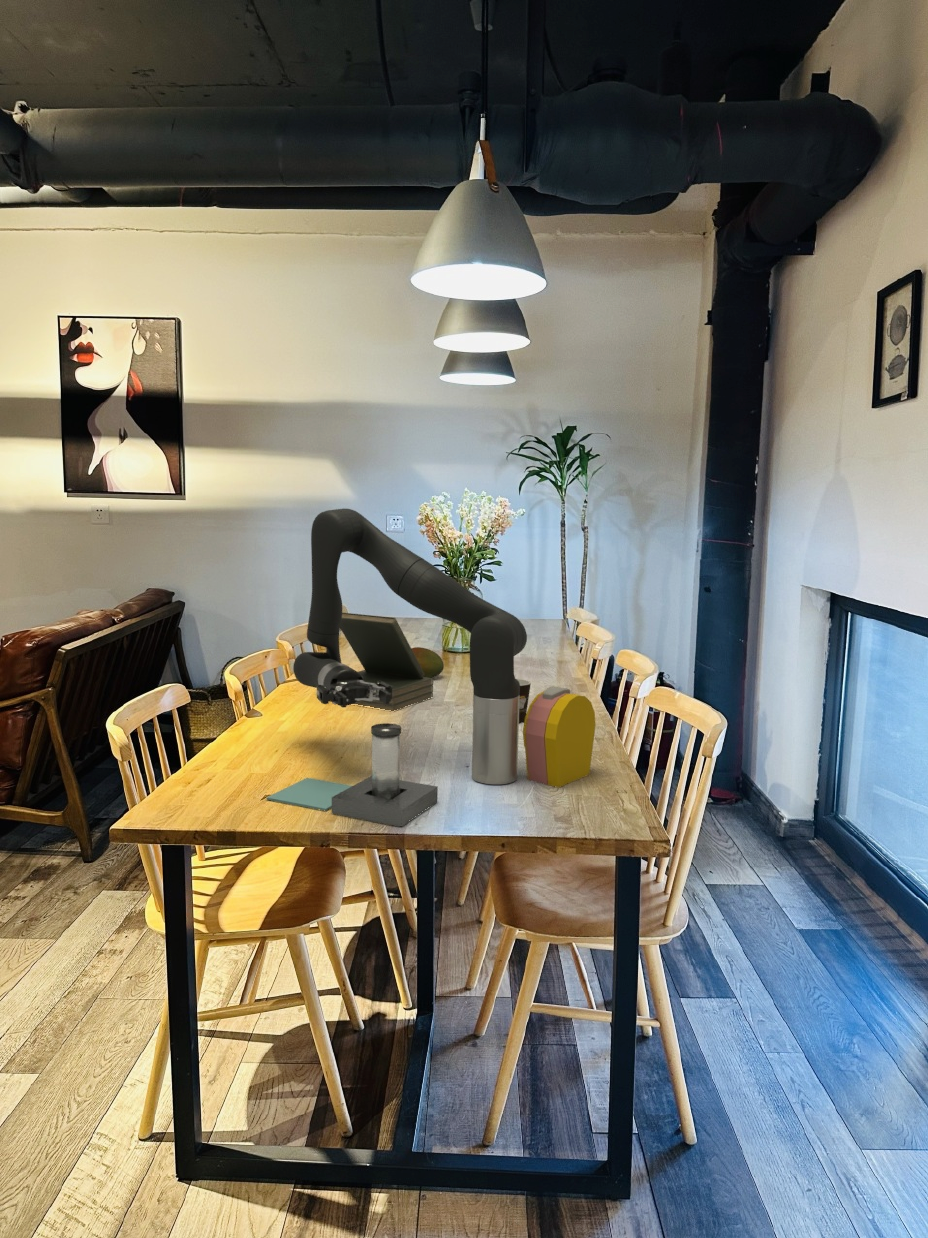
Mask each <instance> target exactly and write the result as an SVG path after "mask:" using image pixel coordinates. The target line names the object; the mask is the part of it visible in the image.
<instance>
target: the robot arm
mask: <svg viewBox="0 0 928 1238" xmlns="http://www.w3.org/2000/svg"><path fill="white" fill-rule="evenodd" d="M310 531H311V533H310V534H311V535H310V547H311V548H310V549H311V553H310V554H311V600H310V601H311V602H310V606H309V607H310V608H309V615H308V622H307V623H308V624H307V630H306V638H307V641H308V642H309V643H311V644H313V645H315V646H319V647H324V648H326V650H325V651H323V652H320V651H319V652H318V651H317V652H316V651H306V652H301V653H300V654H298V655H297V656H296V657H295V659H294V663H293V664H292V665H293V674H294V677H295V679H296V680H297V681H298V682H299V683H300V684H302V686H303V685H304V686H307V687H311V688H314V689H315V688H316V700H318V701H319V702H321V704H322V705H328V704H329V702H332V703H331V704H333V705H337V706H340V708H347V706H352V705H351V704H354V703H355V702H357V701H360V700H365V701H374V700H379V701H381V702H382V703H384V704H389V702H391V699H393V696H392V689H393V686H391V685H389V684H387V683H385V682H383V681H377V685H376V684H375V683H368V682H365V681H364V679H363V677H362V676H361V675H360V674H359V673H358V672H359V671H356V670H355V669H353V668H351V666H348V665H346V664H344V663H342V659H341V652H340V631H341V629H340V626H341V619H342V613H343V601H342V595H341V591H340V589H339V588H340V587H339V583H338V567H339V562H340V558H341V556H342V553H345V552H346V553H347V552H348V553H353V554H354V555H356V556H358V557H360V558H362V559H363V560H365V562H367V563H369V564H371V565H372V566H373V567H374V568H375V569H376V570H377V571H378V573H379V574H380V576H381V577H382V580H383V581H384V582H385V583H386V585H387V586H388V588H389V589H391V591H392V592H393V593H394V594H396V596H398V597H400V598H401V599H402V600H404V601H406V602H407V603H409V604H410V605H412V606H413V607H415V608H417V609H418V610H420V611H422V612H425V613H428V614H429V615H432V616H435V617H437V618H440V619H443V620H445V621H448V622H451V623H454V624H456V625H458V626H460V627H461V628H463V629H464V630H465V631H467V632H469V633H470V638H469V677H470V681H471V683H472V687H473V690H472V691H473V696H472V698H473V699H472V701H473V703H472V742H471V743H472V746H471V748H472V750H471V752H472V753H471V779H473V781H475V782H478V783H482V784H486V785H506V784H511V783H514V782H516V781H517V780H518V769H519V768H518V767H519V766H518V764H519V763H518V762H519V734H520V733H519V732H520V731H519V726H520V723H519V696H520V684H519V681H518V680H517V679H518V678H516V675H515V656H516V655H519V654H520V653H521V652H522V651H523V650H524V649H525V647H526V645H527V640H528V634H527V630H526V628H525V626H524V623H522V621H521V620H520V619H519V618H518V617H517V616H515V615H514V614H512V613H510V612H508V611H506V610H505V609H502V608H500V607H498V606H496V605H494V604H492V603H491V602H488V601H487V600H484V599H482V598H481V597H479V596H478V595H477V594H475V593H473V592H472V591H470V590H469V589H467V588H466V587H465V586H464V585H462V584H461V583H459V582H458V581H456V580H455V579H453V577H451V576H449V575H447V574H446V573H445V572H443V570H440V569H439V568H438V567H436V566H434V564H432V563H430V561H428V560H425V559H424V558H423V557H421V556H420V555H418V554H416V553H414V552H413V551H412V550H410V549H408V548H407V547H405V546H403V545H402V544H400V543H399V542H397V541H395V540H394V539H393V538H391V537H389V536H388V535H387V534H385V533H384V532H383V531H381V530H380V528H378V527H377V526H376V525H375V524H373V523H372V522H371V521H369V520H368V519H367V518H366V517H365V516H364V515H362V513H360V512H358V511H356V510H354V509H351V508H338V509H337V508H336V509H328V510H324V511H321V512H319V514H317V516H316V517H315V518H314V520H313V521H312V525H311V530H310ZM376 692H377V695H379V696H376ZM369 694H370V697H366V696H368V695H369Z"/></svg>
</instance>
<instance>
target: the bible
mask: <svg viewBox="0 0 928 1238" xmlns="http://www.w3.org/2000/svg"><path fill="white" fill-rule="evenodd" d="M340 631H342V632H341V633H342V634H343V636H344V637H345V639H346V641H347V642H348V644H349V646H350V647H351V649H352V651H353V652H354V654H355V656H356V657H357V659H358V661H359V663H360V664H361V666H362V667H363V670H358V671H357V672H358V673H359V674H360V675H361V676H362V677H363V679H364V681H365V682H368V683H375V684H376V685H377V681H383V682H385V683H387V684H389V685H391V686H393V689H392V696H393V699H391V702H389V704H384V703H382V702H381V701H379V700H374V701H365V700H360V701H357V702H355V703H354V704H358V705H363V706H370V707H374V708H380V709H385V710H391V711H394V710H397V709H400V708H403V707H405V706H408V705H411V704H414V703H417V702H420V701H423V700H426V699H428V698H431V697H433V698H434V677H433V678H427V677H424V675H425V674H424V672H423V670H422V668H421V666H420V664H419V662H418V660H417V658H416V657H415V655H414V653H413V651H412V649H411V648H412V647H411V645H410V644H409V642H408V640H407V638H406V636H405V634H404V631H403V630H402V628H401V626H400V624H399V623H398V620H397V619H396V617H391V616H383V615H381V616H380V615H370V614H361V613H360V614H359V613H351V612H349V613H348V612H342V619H341V626H340ZM376 696H379V695H377V692H376ZM366 697H370V694H369V695H368V696H366ZM426 701H427V700H426ZM423 702H424V701H423ZM420 703H421V702H420ZM403 709H404V708H403ZM385 710H384V711H385ZM400 710H401V709H400ZM391 711H390V712H391ZM397 711H398V710H397ZM394 712H395V711H394Z"/></svg>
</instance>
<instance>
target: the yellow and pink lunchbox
mask: <svg viewBox="0 0 928 1238" xmlns="http://www.w3.org/2000/svg"><path fill="white" fill-rule="evenodd" d="M595 732H596V714H595V709H594V707H593V704H592V701H590V699H589V698H588V697H586V695H581V694H580V695H579V694H576V693H575V694H574V693H571V690H570V688H568V687H567V688H566V687H561V686H554V685H553V686H549V687H547V688H546V689H544V690H543V691H542V692H539V693H538V694H536V696H535V697H534V698H533V699H532V701H531V703H530V704H529V706H528V707H527V713H526V716H525V721H524V722H523V730H522V737H523V738H522V739H523V746H524V751H525V764H526V776H527V777H526V778H527V780H528V779H529V780H528V781H531V780H533V781H532V782H535V781H536V783H539V782H540V783H539V784H543V783H544V785H547V784H548V786H550V785H552V786H551V787H554V786H556V787H555V788H558V787H559V788H561V786H562V787H564V786H566V785H568V784H571V783H573V782H575V781H578V780H580V779H582V778H584V777H587V776H589V775H590V772H591V763H592V754H593V748H594V742H595V741H594V740H595ZM588 774H589V775H588ZM586 775H587V776H586ZM583 776H584V777H583ZM581 777H582V778H581ZM579 778H580V779H579ZM577 779H578V780H577ZM574 780H575V781H574ZM572 781H573V782H572ZM570 782H571V783H570ZM567 783H568V784H567ZM565 784H566V785H565ZM563 785H564V786H563Z"/></svg>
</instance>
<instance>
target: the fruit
mask: <svg viewBox="0 0 928 1238" xmlns="http://www.w3.org/2000/svg"><path fill="white" fill-rule="evenodd" d="M411 649H412V651H413V653H414V655H415V657H416V658H417V660H418V662H419V664H420V666H421V668H422V670H423V672H424V674H425V675H424V677H427V678H433V679H434V678H436V677H437V676H440V674H441V673H442V672H443V671H444V668H445V667H444V666H445V664H444V661H443V659H442V657H441V656H440V655H439V654H438V653H437V652H435V651H433V650H431V649H429V648H425V647H421V646H415V647H411Z"/></svg>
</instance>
